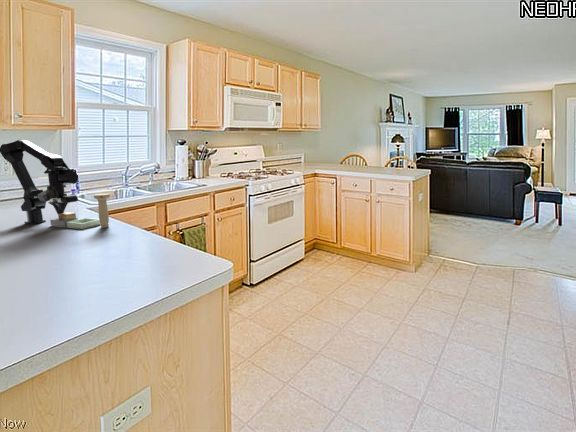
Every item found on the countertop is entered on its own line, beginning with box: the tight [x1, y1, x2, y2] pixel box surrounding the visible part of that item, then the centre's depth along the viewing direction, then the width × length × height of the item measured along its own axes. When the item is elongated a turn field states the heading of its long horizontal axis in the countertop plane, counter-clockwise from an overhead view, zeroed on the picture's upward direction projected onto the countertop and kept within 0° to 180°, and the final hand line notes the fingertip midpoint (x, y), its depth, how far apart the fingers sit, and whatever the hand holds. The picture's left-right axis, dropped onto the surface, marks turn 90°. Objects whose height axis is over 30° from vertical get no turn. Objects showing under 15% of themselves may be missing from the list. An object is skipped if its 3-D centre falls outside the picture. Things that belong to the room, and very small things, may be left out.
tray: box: [66, 217, 101, 230], centre depth 181 cm, size 10×10×2 cm
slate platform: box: [50, 217, 79, 228], centre depth 183 cm, size 9×7×3 cm
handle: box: [93, 193, 111, 229], centre depth 177 cm, size 5×6×15 cm
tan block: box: [57, 211, 77, 220], centre depth 183 cm, size 5×5×2 cm
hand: (60, 216), depth 185 cm, fingers closed
